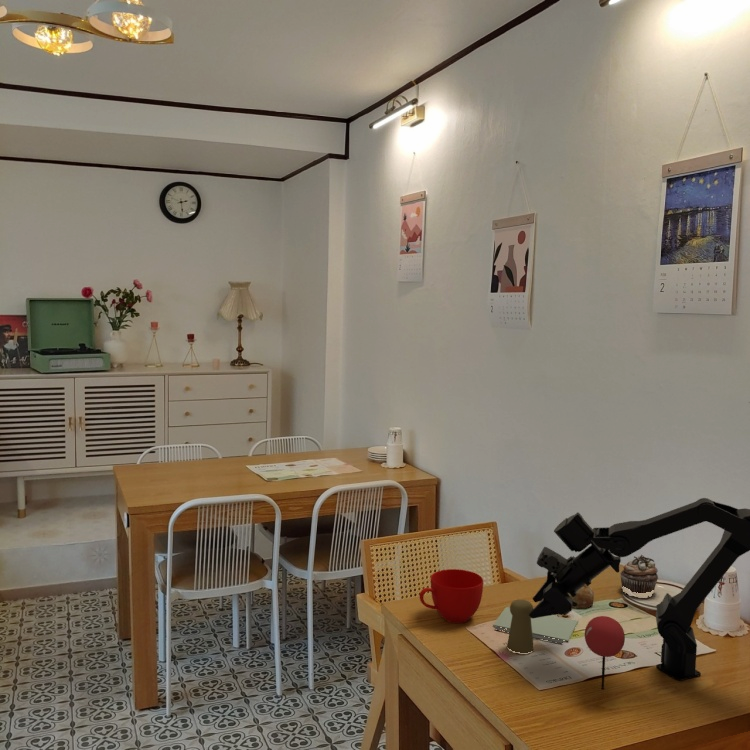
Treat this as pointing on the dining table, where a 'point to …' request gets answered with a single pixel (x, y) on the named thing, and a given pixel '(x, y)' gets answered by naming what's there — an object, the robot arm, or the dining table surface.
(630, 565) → the cupcake
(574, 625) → the green spiral notebook
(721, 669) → the dining table surface
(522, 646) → the olive game pawn
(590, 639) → the lollipop
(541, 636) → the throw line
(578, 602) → the bread roll
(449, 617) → the ceramic cup
